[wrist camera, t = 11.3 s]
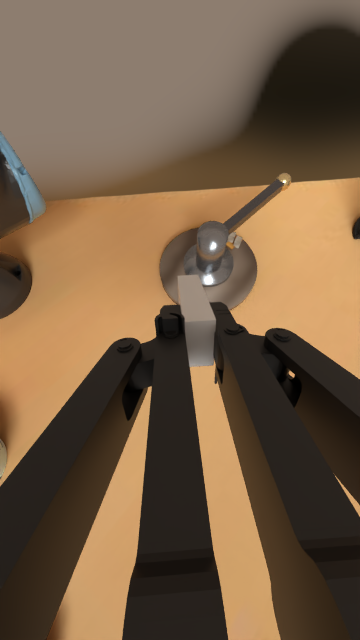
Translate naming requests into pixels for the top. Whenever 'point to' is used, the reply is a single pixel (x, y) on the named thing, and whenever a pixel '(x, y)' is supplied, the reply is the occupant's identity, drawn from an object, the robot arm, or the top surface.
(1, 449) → the food container
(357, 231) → the holder
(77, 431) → the robot arm
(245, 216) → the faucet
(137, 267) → the top surface
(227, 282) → the dial base
